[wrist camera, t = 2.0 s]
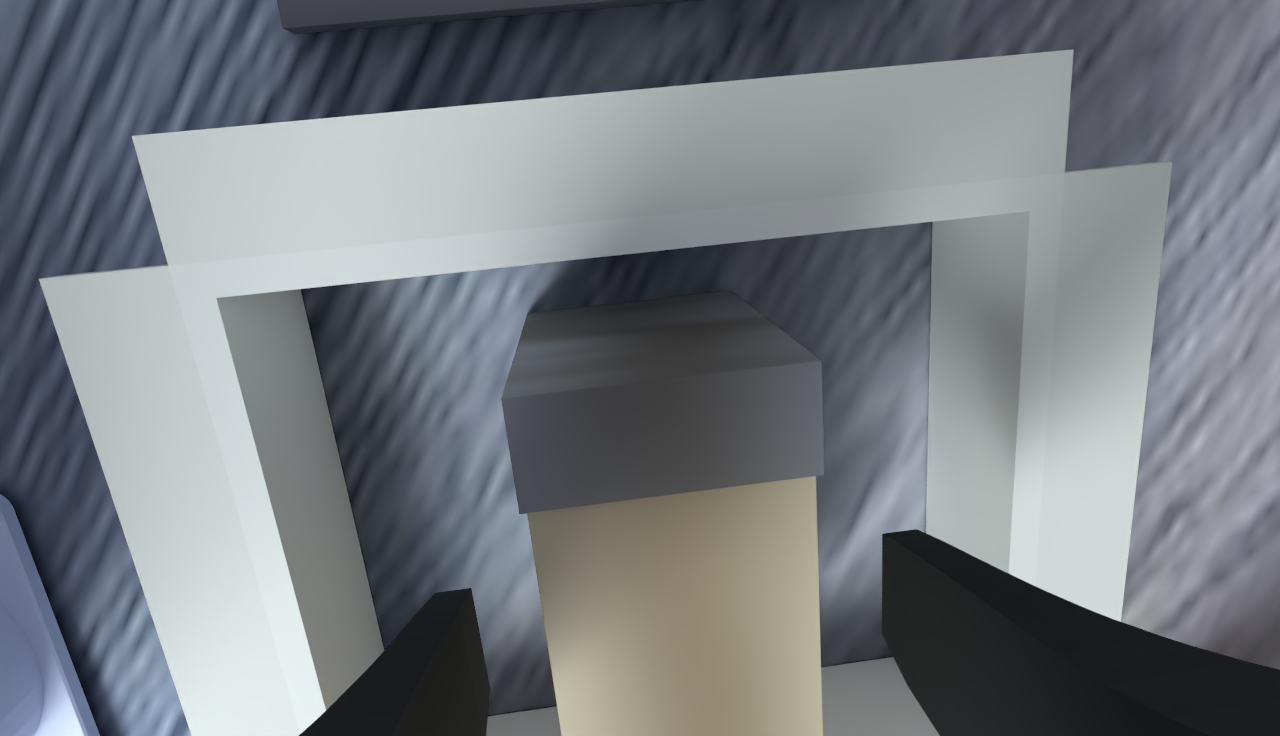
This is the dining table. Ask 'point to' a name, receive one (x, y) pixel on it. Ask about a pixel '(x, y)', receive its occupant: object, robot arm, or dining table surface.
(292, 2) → the rubber mat
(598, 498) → the birch block
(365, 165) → the white flat frame
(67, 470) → the dining table surface
